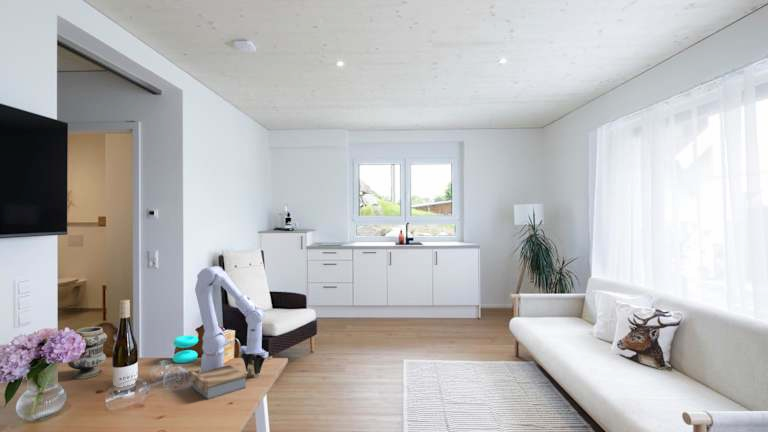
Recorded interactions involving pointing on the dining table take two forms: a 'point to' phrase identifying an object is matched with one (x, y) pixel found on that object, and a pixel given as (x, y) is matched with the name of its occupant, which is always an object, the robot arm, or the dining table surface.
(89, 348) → the apothecary jar
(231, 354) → the supplement box
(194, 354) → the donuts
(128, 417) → the dining table surface
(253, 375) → the cylinder
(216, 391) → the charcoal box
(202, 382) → the box lid
